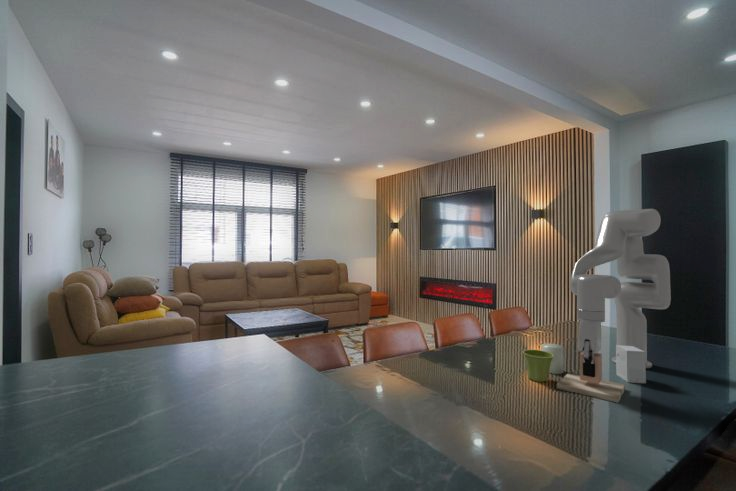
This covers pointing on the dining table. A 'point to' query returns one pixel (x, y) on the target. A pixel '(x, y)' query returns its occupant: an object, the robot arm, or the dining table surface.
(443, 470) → the dining table surface
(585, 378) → the block
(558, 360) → the pale rounded smooth block
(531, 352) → the plant pot
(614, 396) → the board
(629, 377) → the small box
